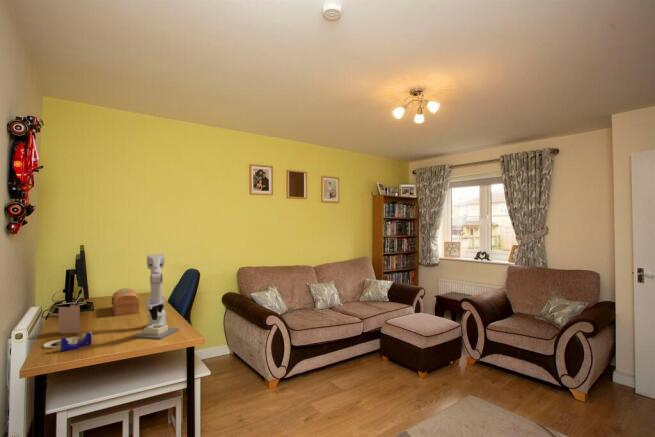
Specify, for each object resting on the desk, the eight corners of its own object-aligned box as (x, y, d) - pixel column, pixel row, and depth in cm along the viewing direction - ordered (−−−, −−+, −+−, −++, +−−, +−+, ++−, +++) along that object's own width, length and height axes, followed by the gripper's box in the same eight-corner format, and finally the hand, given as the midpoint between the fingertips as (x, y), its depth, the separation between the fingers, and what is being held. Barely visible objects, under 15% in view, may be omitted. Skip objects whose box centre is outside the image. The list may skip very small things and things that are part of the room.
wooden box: (111, 307, 249) (111, 289, 249) (136, 304, 258) (136, 287, 258) (111, 317, 224) (111, 296, 224) (139, 313, 233) (139, 293, 233)
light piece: (92, 336, 176) (42, 345, 164) (92, 342, 176) (42, 351, 164) (91, 330, 185) (44, 339, 173) (91, 336, 185) (44, 345, 173)
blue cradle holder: (63, 352, 161) (63, 340, 161) (60, 350, 164) (60, 338, 164) (92, 345, 170) (92, 333, 171) (89, 343, 173) (89, 332, 173)
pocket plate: (152, 328, 198) (152, 321, 198) (179, 330, 194) (179, 323, 194) (131, 337, 182) (131, 330, 182) (160, 339, 179) (160, 331, 179)
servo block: (149, 320, 190) (149, 310, 190) (164, 320, 190) (164, 311, 190) (146, 322, 187) (146, 312, 187) (162, 322, 187) (162, 312, 187)
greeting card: (81, 332, 191) (81, 306, 191) (65, 336, 184) (66, 309, 185) (72, 329, 197) (72, 304, 197) (56, 332, 190) (57, 306, 190)
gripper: (156, 292, 196) (156, 315, 196) (141, 297, 181) (141, 322, 181) (167, 292, 196) (167, 315, 196) (154, 297, 181) (154, 322, 181)
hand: (156, 318), depth 188 cm, fingers closed on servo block, 3 cm apart
